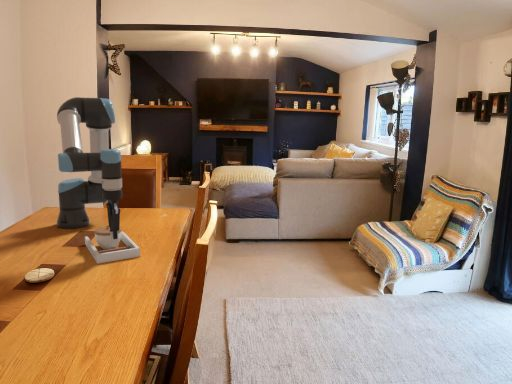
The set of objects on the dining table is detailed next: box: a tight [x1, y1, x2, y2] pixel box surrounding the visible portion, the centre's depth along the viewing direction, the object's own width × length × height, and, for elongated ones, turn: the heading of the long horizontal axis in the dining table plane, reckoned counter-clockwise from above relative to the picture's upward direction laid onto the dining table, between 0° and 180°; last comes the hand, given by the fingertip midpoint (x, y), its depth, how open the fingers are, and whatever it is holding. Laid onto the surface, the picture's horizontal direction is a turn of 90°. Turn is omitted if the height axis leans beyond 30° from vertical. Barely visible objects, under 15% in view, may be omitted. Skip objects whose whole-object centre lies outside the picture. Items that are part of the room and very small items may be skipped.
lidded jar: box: [94, 225, 122, 250], centre depth 168 cm, size 11×11×9 cm
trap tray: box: [97, 246, 132, 254], centre depth 159 cm, size 8×13×2 cm, turn 123°
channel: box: [84, 231, 141, 265], centre depth 165 cm, size 26×16×4 cm, turn 33°
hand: (114, 245), depth 159 cm, fingers closed
